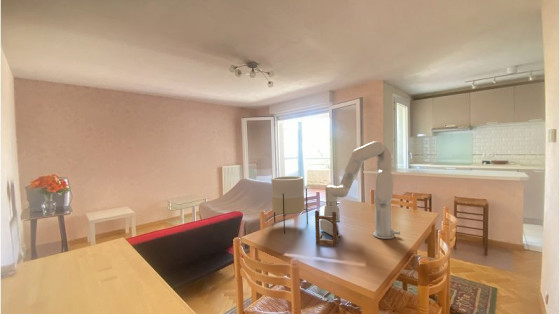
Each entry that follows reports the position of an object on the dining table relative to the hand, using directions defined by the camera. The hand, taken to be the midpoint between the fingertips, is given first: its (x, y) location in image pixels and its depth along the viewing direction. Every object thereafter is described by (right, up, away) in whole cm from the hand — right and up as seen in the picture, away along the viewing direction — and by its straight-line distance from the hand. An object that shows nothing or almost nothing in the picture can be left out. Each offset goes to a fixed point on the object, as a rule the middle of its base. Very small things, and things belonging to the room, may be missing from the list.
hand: (332, 230), depth 157 cm
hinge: (-2, -1, -5) cm, 5 cm away
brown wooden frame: (-7, -1, -18) cm, 20 cm away
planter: (-31, -2, +13) cm, 34 cm away
